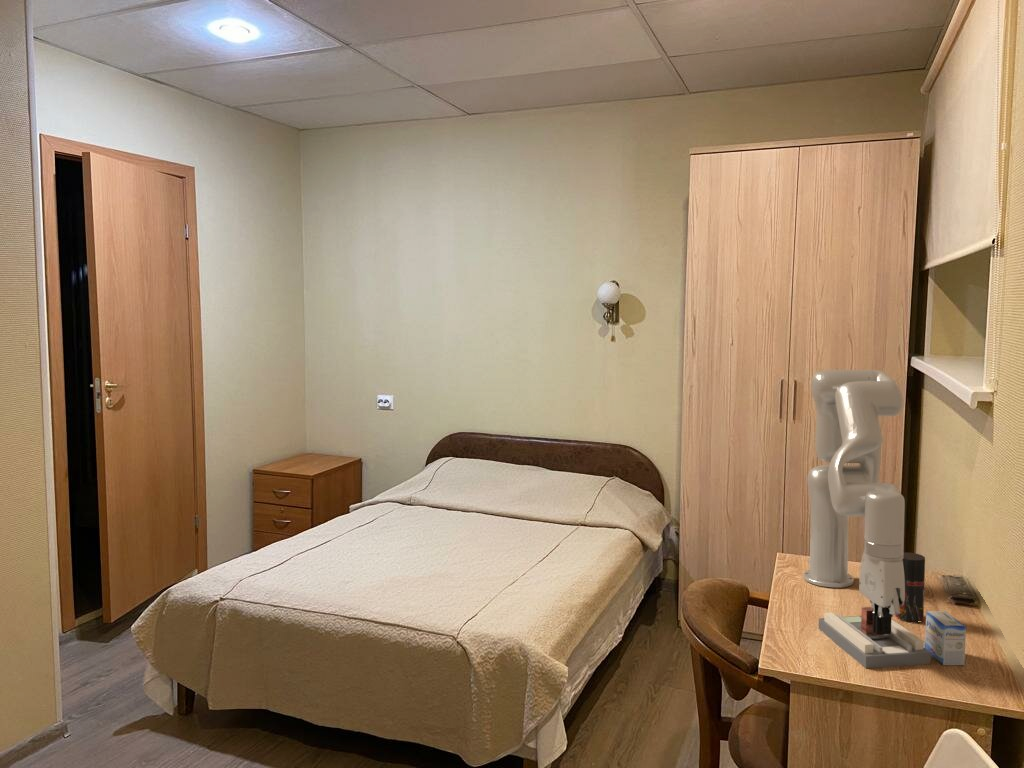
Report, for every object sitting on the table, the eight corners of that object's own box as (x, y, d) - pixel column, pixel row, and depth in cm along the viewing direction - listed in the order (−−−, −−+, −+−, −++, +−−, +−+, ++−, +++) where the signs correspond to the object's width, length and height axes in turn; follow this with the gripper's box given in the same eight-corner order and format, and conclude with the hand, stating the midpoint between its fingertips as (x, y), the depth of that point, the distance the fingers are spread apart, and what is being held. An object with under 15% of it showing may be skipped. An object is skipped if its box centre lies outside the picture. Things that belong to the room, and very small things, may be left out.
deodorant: (926, 623, 179) (928, 560, 178) (899, 622, 180) (900, 559, 179) (918, 613, 185) (920, 552, 184) (892, 612, 186) (893, 551, 185)
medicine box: (923, 649, 166) (925, 610, 165) (945, 649, 166) (946, 610, 165) (943, 666, 158) (944, 625, 157) (965, 666, 158) (966, 625, 157)
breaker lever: (855, 629, 170) (855, 605, 170) (876, 628, 171) (877, 603, 170) (867, 639, 165) (868, 613, 165) (889, 637, 166) (890, 612, 165)
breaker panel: (818, 628, 178) (818, 610, 177) (876, 625, 179) (876, 607, 179) (865, 668, 158) (866, 648, 157) (930, 663, 159) (930, 643, 159)
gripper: (848, 539, 170) (846, 620, 171) (887, 561, 155) (885, 649, 156) (880, 538, 170) (878, 618, 172) (922, 559, 155) (920, 646, 157)
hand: (881, 632), depth 164 cm, fingers closed
